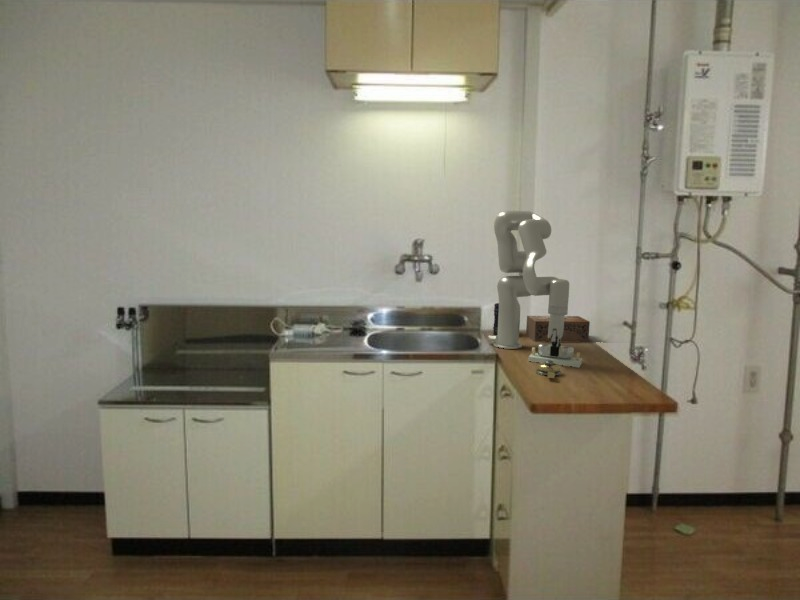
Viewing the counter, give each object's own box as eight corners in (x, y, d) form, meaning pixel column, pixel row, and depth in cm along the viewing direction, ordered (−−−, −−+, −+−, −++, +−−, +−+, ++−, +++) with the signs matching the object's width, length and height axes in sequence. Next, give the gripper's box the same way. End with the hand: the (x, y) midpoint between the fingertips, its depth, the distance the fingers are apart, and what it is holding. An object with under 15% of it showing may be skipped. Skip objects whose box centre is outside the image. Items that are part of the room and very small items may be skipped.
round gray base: (534, 374, 229) (534, 372, 229) (538, 368, 237) (538, 366, 237) (558, 377, 225) (558, 375, 225) (562, 371, 234) (562, 369, 233)
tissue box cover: (577, 336, 302) (578, 316, 300) (588, 342, 287) (589, 321, 286) (525, 335, 300) (527, 315, 298) (534, 342, 286) (535, 321, 284)
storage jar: (514, 337, 295) (516, 306, 292) (494, 336, 295) (495, 306, 293) (511, 332, 305) (513, 303, 302) (491, 332, 305) (493, 302, 302)
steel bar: (572, 358, 243) (573, 349, 242) (536, 354, 248) (537, 345, 248) (573, 356, 247) (574, 347, 246) (538, 352, 252) (539, 343, 251)
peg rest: (528, 361, 248) (528, 349, 247) (532, 357, 255) (532, 345, 254) (579, 367, 240) (580, 355, 239) (581, 363, 247) (582, 350, 247)
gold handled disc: (537, 366, 235) (537, 358, 235) (558, 368, 234) (558, 359, 234) (539, 377, 221) (540, 368, 220) (562, 378, 220) (563, 369, 219)
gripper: (552, 306, 254) (549, 349, 256) (544, 312, 238) (541, 358, 241) (570, 308, 251) (567, 351, 254) (564, 314, 236) (561, 360, 238)
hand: (555, 354), depth 247 cm, fingers closed on steel bar, 4 cm apart
